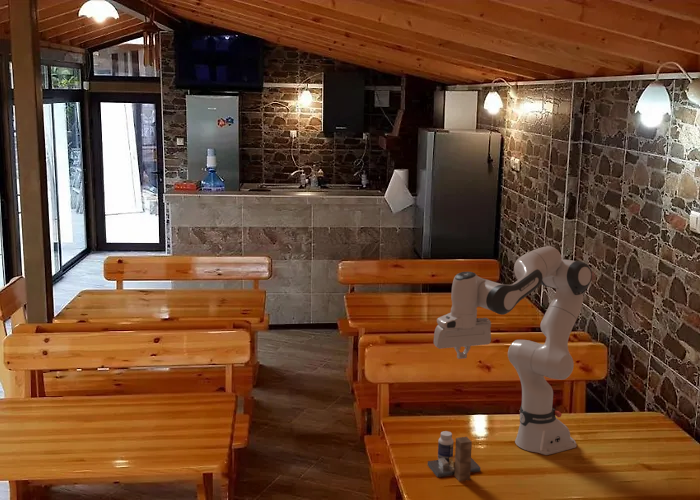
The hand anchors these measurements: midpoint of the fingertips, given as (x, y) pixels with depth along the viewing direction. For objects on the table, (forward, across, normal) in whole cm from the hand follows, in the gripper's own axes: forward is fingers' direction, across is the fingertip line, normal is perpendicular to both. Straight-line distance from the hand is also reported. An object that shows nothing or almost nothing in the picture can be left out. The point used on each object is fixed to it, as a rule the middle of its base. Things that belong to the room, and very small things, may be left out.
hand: (461, 358), depth 261 cm
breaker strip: (+39, +3, +4) cm, 39 cm away
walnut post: (+39, +3, +10) cm, 41 cm away
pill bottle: (+39, +3, -4) cm, 40 cm away
